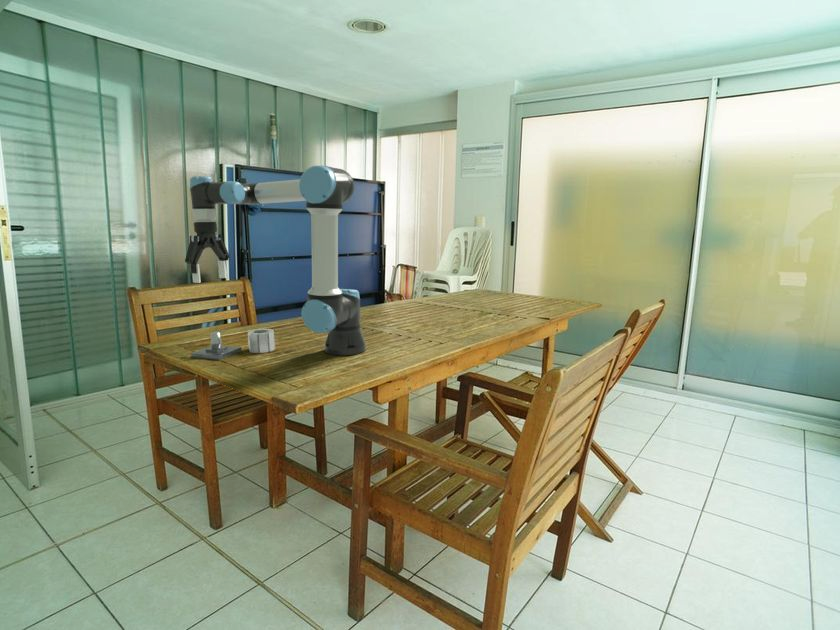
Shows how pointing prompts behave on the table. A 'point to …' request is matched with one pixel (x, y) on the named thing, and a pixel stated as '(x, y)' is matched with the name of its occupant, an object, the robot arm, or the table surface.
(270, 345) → the ring
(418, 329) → the table surface
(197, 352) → the shaft block
